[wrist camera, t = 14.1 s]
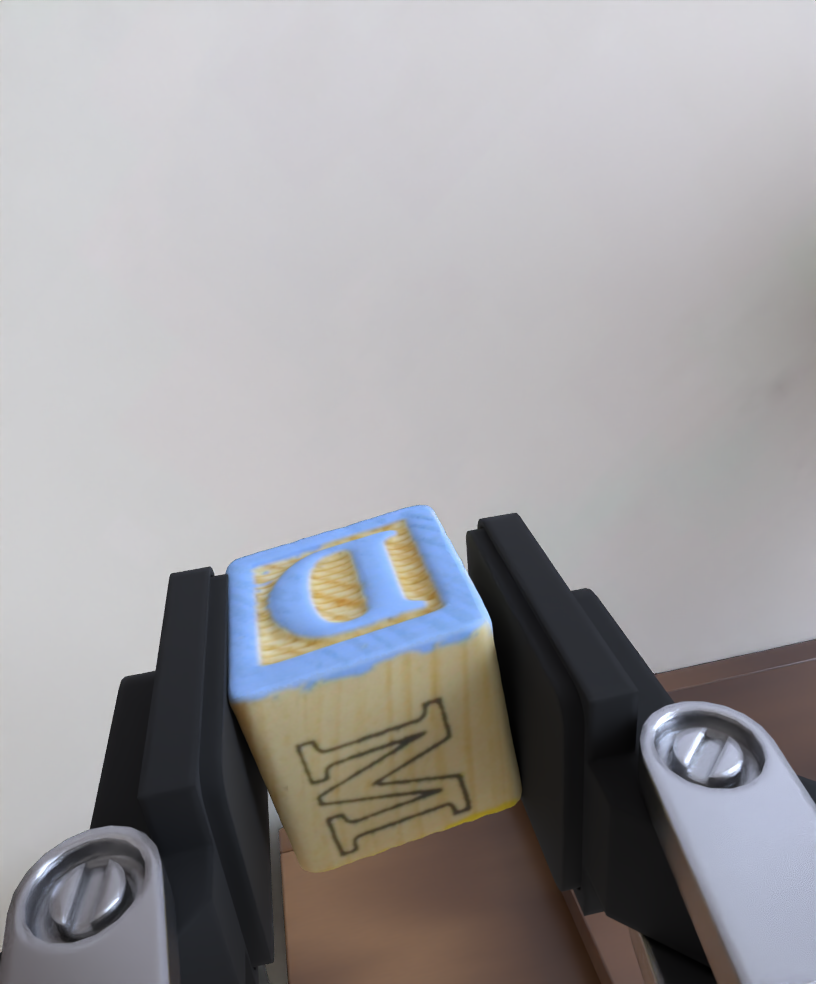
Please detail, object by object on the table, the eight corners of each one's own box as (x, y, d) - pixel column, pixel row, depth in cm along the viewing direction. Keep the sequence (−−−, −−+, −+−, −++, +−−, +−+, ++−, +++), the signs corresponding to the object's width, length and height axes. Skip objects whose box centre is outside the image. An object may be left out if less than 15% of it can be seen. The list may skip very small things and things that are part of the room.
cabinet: (507, 989, 27) (623, 1350, 19) (490, 709, 22) (640, 1048, 14) (867, 891, 29) (1110, 1181, 21) (933, 613, 24) (1295, 859, 16)
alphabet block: (434, 495, 11) (496, 620, 8) (470, 662, 13) (531, 813, 10) (222, 554, 11) (217, 702, 8) (285, 717, 12) (297, 886, 10)
